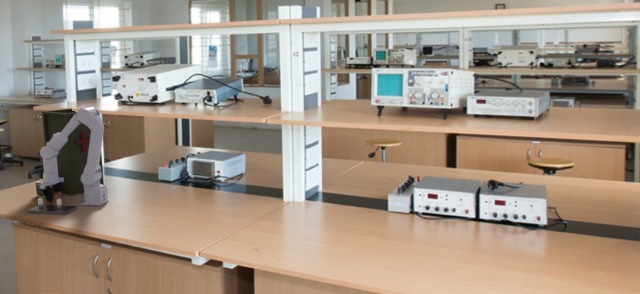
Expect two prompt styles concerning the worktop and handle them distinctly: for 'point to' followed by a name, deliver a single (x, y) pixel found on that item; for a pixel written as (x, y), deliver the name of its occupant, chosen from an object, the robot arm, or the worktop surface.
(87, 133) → the first aid box
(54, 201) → the sleeve
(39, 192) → the medicine bottle
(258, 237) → the worktop surface
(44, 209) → the pin board
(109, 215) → the worktop surface
